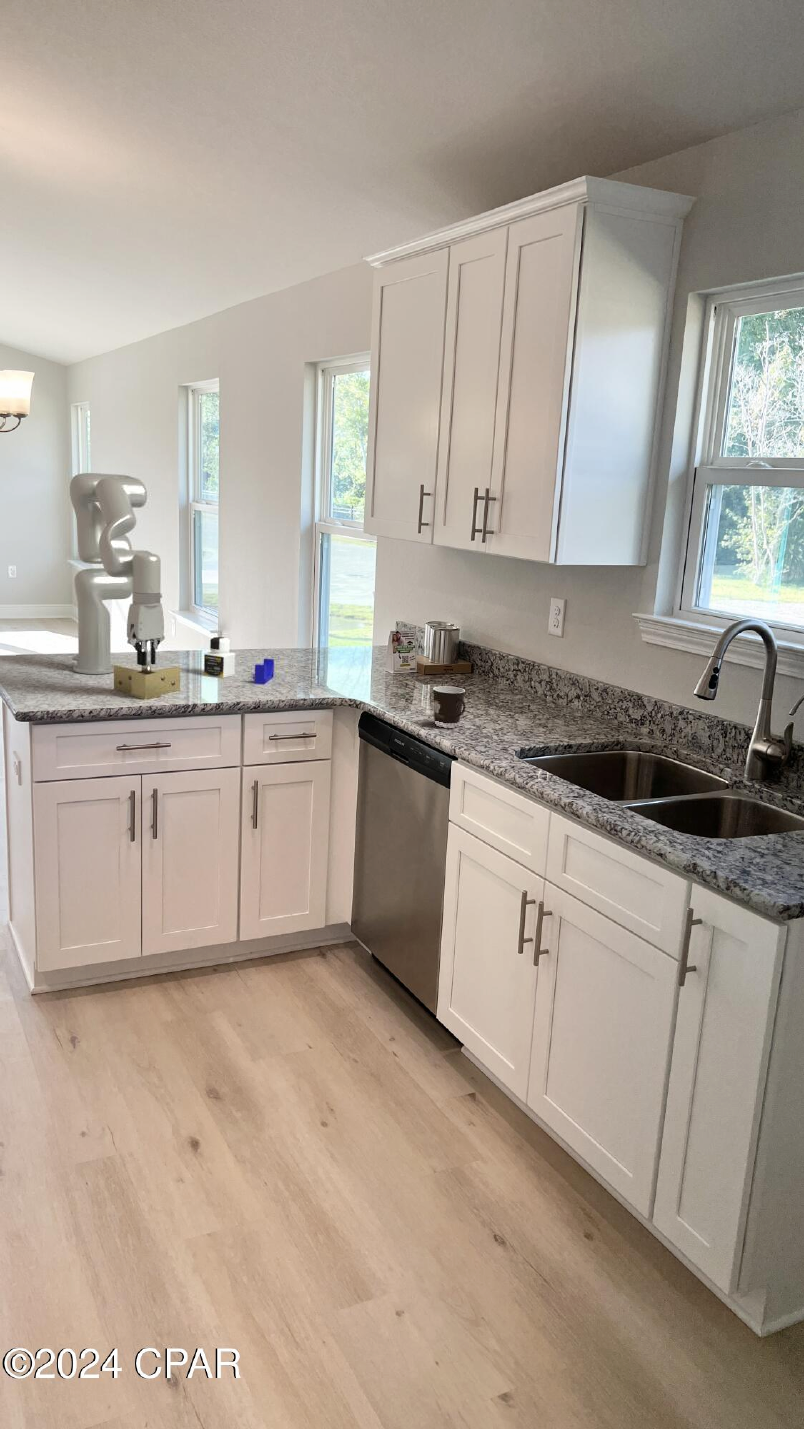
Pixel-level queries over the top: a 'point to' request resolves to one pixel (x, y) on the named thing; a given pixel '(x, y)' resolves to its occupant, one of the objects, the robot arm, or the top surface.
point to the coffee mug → (448, 704)
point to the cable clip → (264, 671)
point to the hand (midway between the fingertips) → (146, 663)
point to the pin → (147, 668)
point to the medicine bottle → (219, 659)
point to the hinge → (146, 681)
